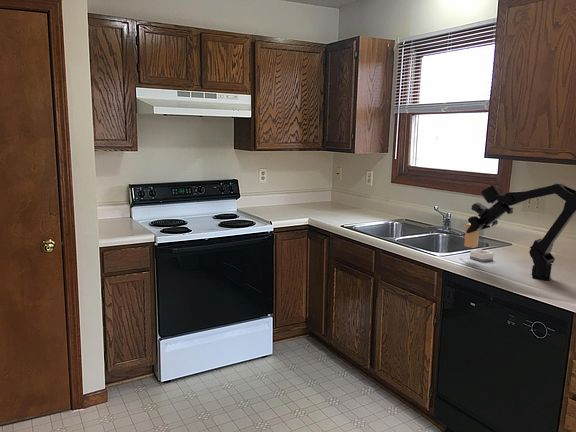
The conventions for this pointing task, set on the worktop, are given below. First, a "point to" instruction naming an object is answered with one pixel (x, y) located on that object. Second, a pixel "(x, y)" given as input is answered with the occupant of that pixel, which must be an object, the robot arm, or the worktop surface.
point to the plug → (471, 238)
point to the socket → (481, 255)
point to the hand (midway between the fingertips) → (469, 231)
